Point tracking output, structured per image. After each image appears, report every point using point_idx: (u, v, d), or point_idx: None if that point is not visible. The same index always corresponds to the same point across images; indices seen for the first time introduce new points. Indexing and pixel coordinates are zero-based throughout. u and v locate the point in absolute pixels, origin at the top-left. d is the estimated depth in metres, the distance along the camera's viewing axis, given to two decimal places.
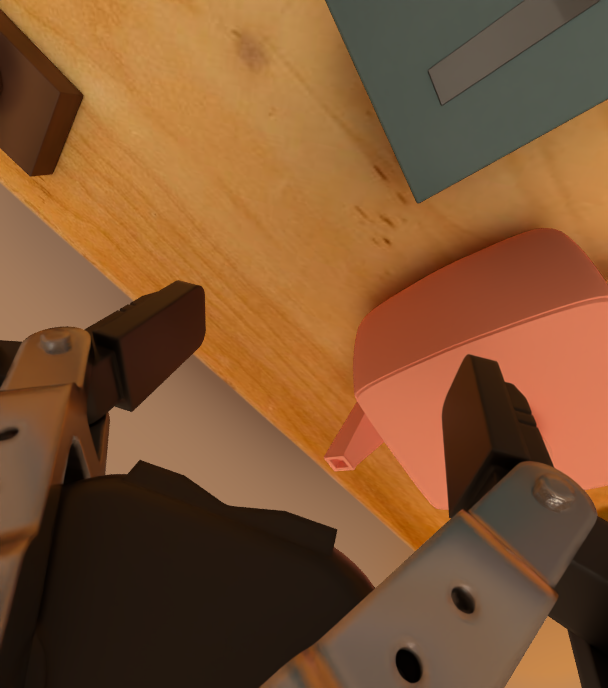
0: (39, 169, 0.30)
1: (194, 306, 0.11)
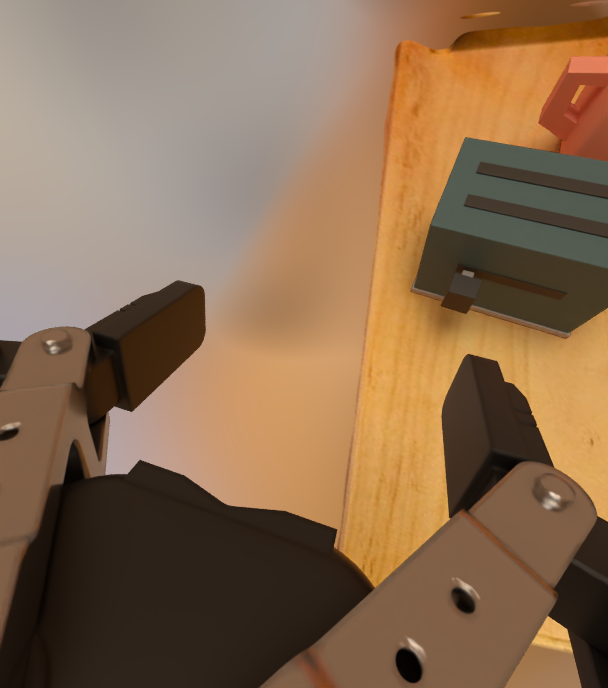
0: None
1: (194, 306, 0.11)
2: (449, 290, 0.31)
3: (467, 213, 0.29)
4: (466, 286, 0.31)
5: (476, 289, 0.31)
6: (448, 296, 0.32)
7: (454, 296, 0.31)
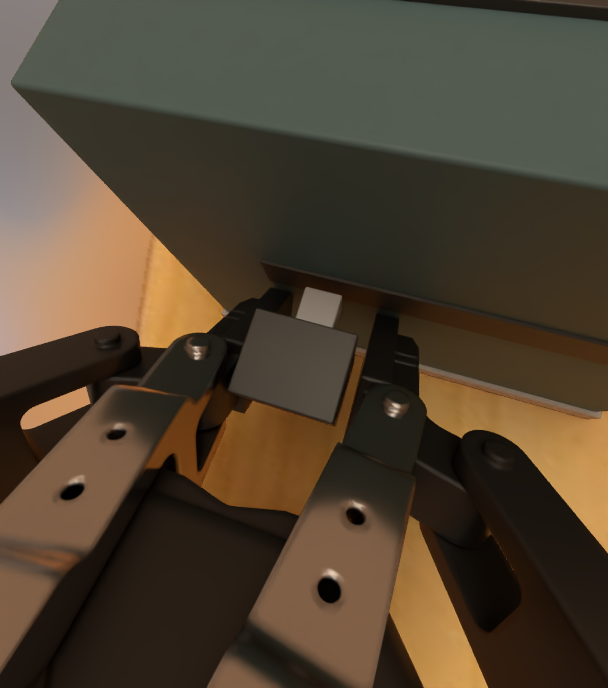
0: None
1: (287, 312, 0.11)
2: (232, 387, 0.08)
3: (186, 12, 0.06)
4: (297, 366, 0.08)
5: (336, 378, 0.07)
6: None
7: (260, 402, 0.08)
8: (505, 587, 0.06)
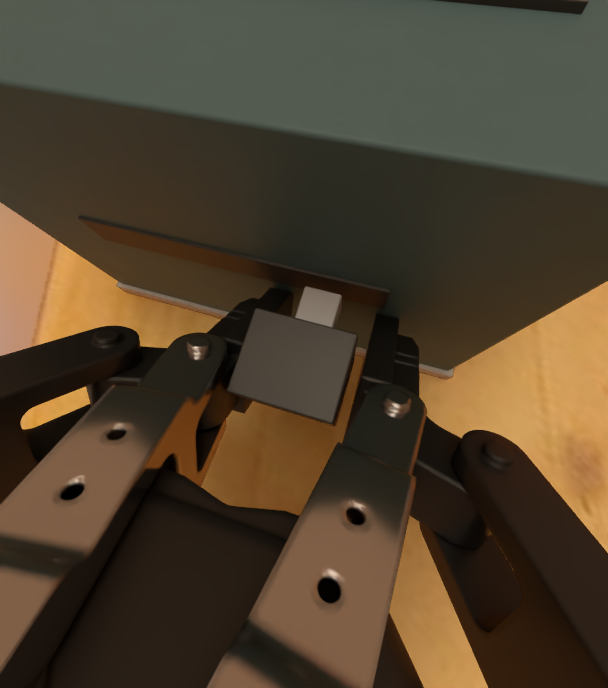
0: None
1: (287, 312, 0.11)
2: (232, 387, 0.08)
3: None
4: (297, 366, 0.07)
5: (335, 378, 0.07)
6: None
7: (260, 402, 0.08)
8: (505, 587, 0.06)
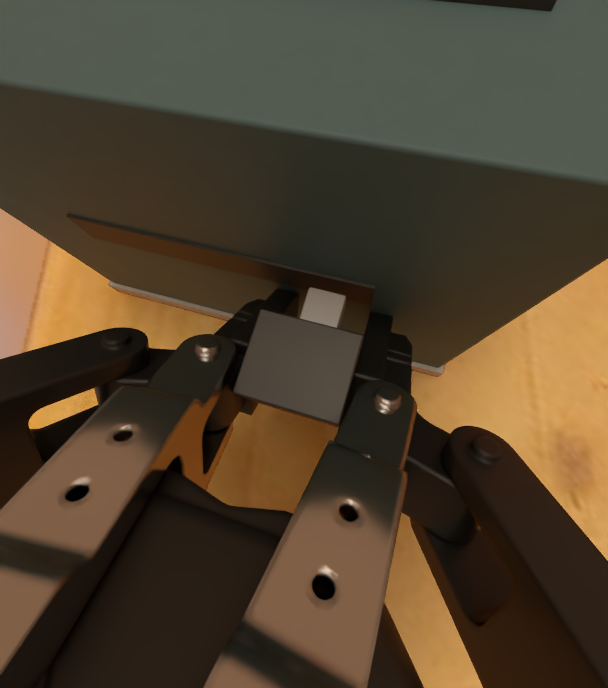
0: None
1: (293, 313, 0.11)
2: (237, 389, 0.08)
3: None
4: (303, 367, 0.07)
5: (342, 379, 0.07)
6: None
7: None
8: (495, 581, 0.06)
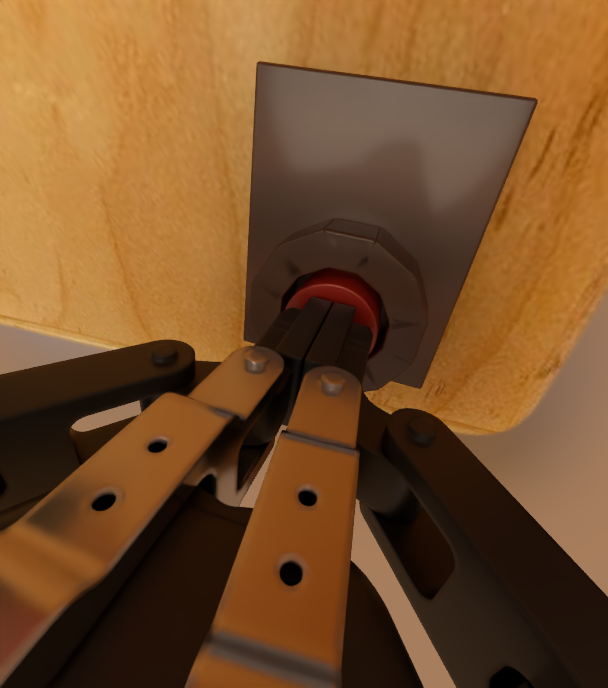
0: None
1: None
2: None
3: None
4: None
5: None
6: None
7: None
8: (441, 551, 0.07)
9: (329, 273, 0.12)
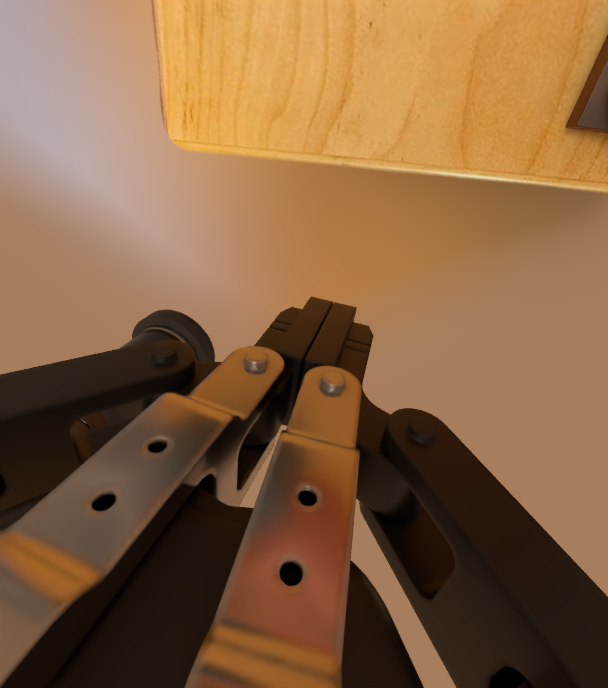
0: None
1: None
2: None
3: None
4: None
5: None
6: None
7: None
8: (441, 551, 0.07)
9: None
